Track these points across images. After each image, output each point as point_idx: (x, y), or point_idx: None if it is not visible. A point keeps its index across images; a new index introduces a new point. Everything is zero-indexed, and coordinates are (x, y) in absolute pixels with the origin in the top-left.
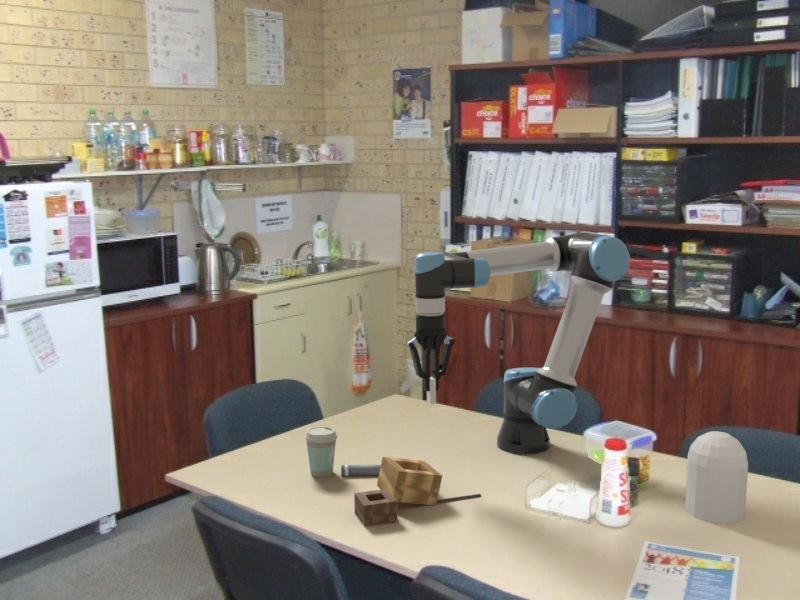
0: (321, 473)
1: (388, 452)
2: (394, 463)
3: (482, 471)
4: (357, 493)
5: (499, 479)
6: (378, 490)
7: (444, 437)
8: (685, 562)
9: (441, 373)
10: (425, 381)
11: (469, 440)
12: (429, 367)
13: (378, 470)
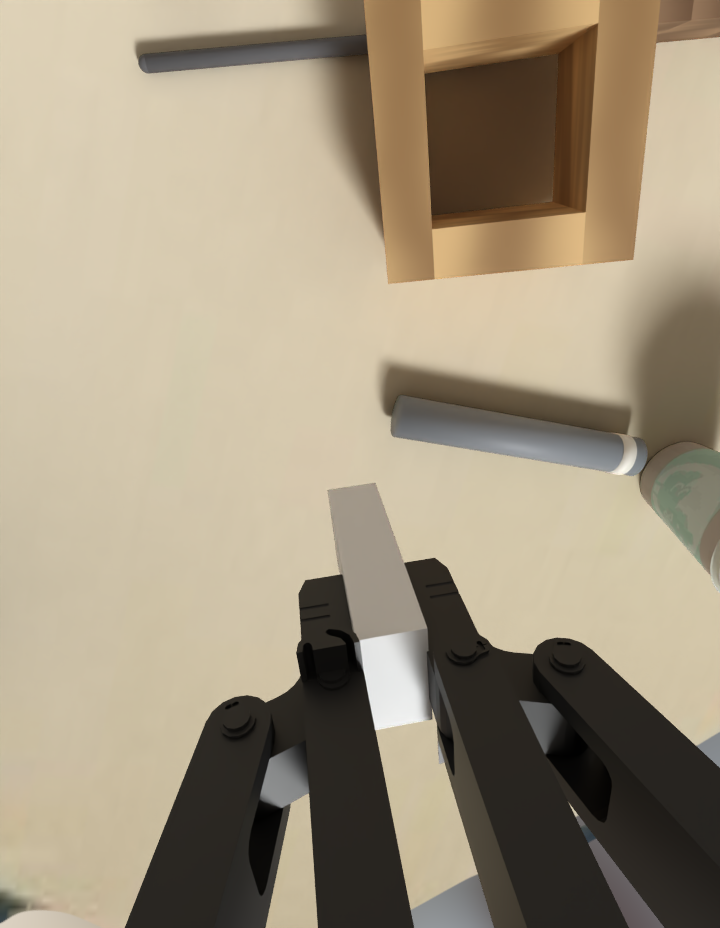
0: (701, 446)
1: None
2: (614, 137)
3: (83, 387)
4: None
5: (14, 277)
6: (694, 11)
7: (177, 722)
8: None
9: (272, 721)
10: (472, 625)
11: (88, 691)
12: (486, 777)
13: (518, 419)
